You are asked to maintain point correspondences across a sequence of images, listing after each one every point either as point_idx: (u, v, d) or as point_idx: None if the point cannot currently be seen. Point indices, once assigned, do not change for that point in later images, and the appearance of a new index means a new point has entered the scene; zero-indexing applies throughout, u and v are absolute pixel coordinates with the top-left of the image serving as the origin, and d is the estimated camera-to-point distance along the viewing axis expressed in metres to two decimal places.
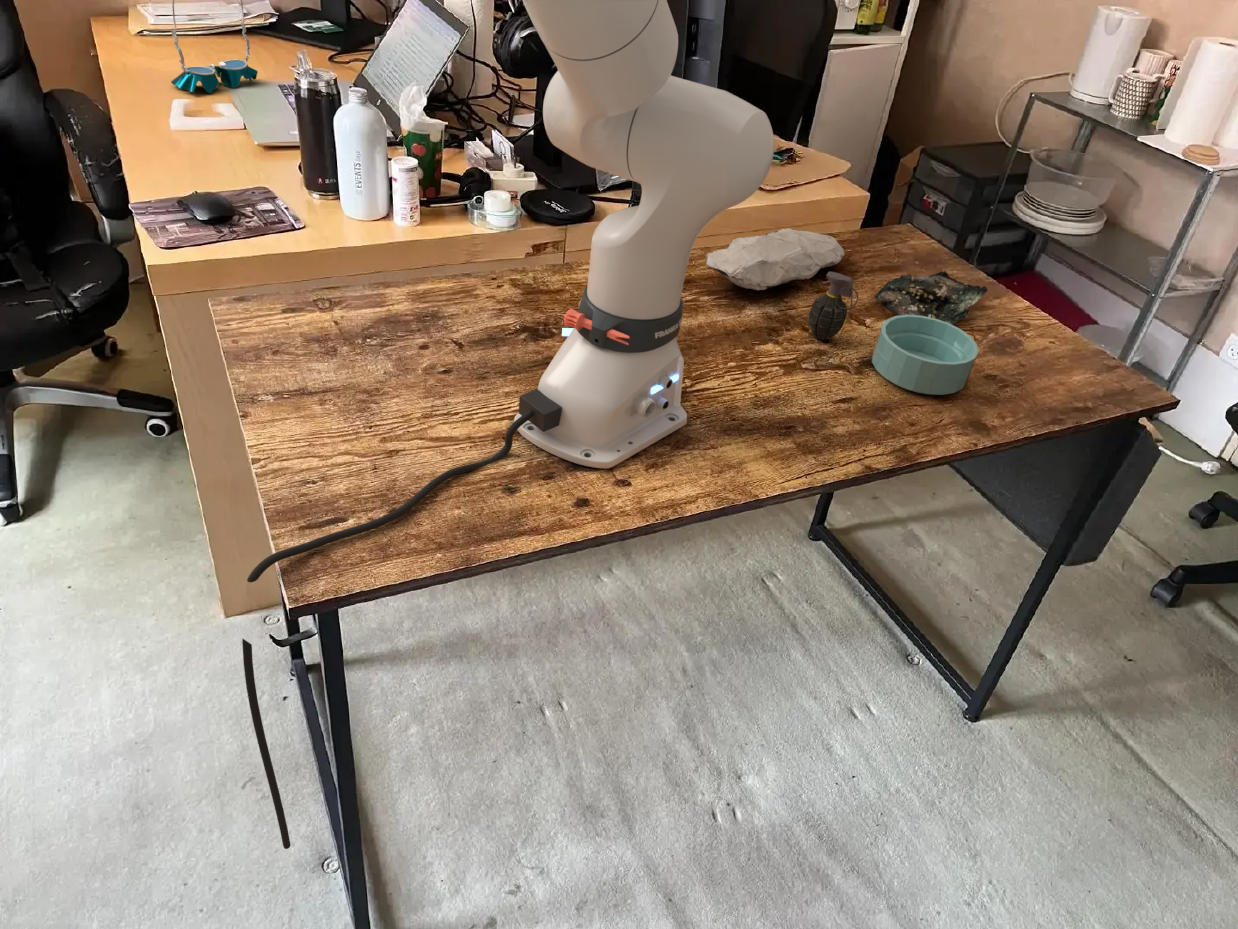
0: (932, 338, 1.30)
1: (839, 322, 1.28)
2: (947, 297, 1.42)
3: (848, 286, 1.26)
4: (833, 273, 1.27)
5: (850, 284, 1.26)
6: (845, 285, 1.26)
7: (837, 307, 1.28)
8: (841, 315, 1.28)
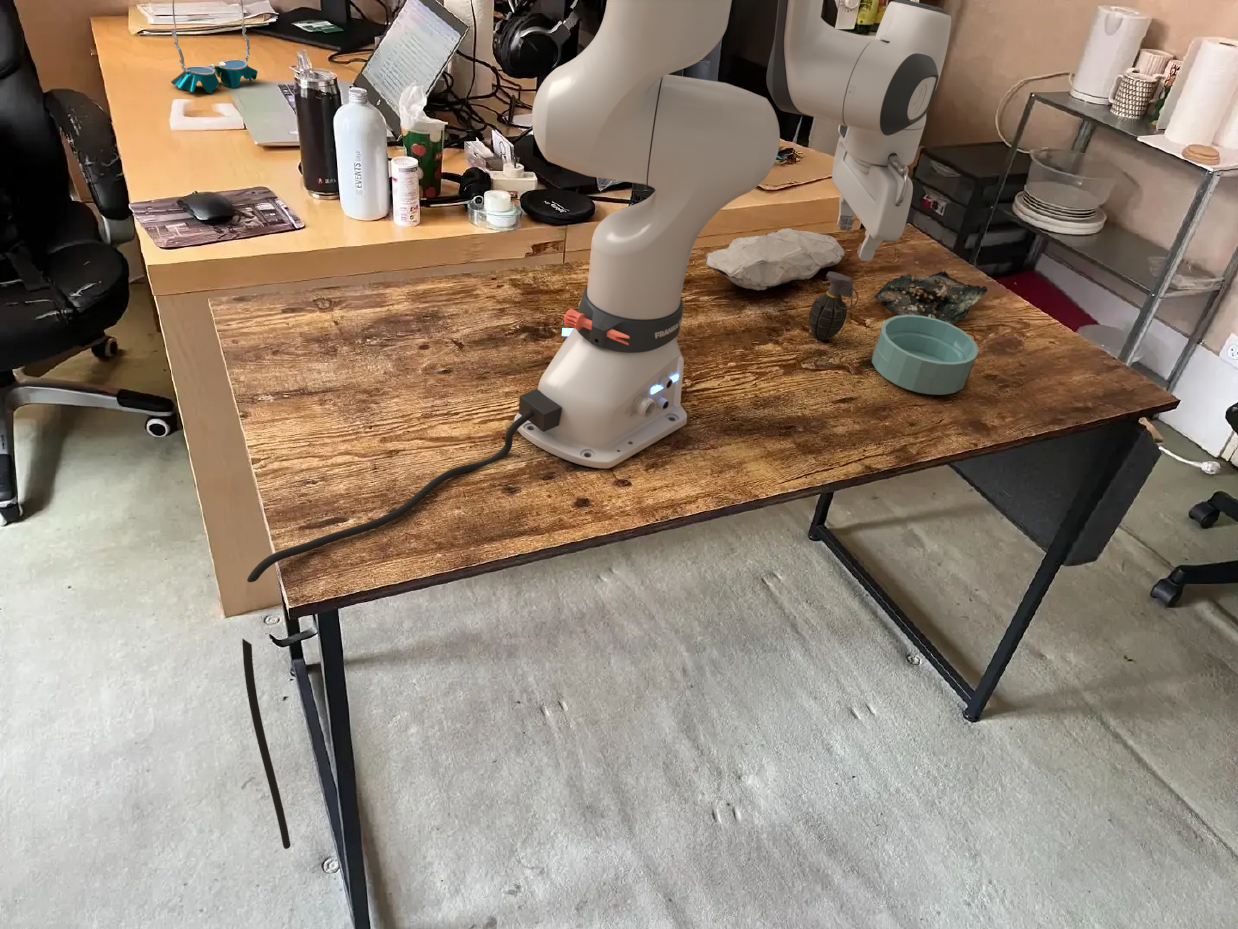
0: (932, 338, 1.30)
1: (839, 322, 1.28)
2: (947, 297, 1.42)
3: (848, 286, 1.26)
4: (833, 273, 1.27)
5: (850, 284, 1.26)
6: (845, 285, 1.26)
7: (837, 307, 1.28)
8: (841, 315, 1.28)
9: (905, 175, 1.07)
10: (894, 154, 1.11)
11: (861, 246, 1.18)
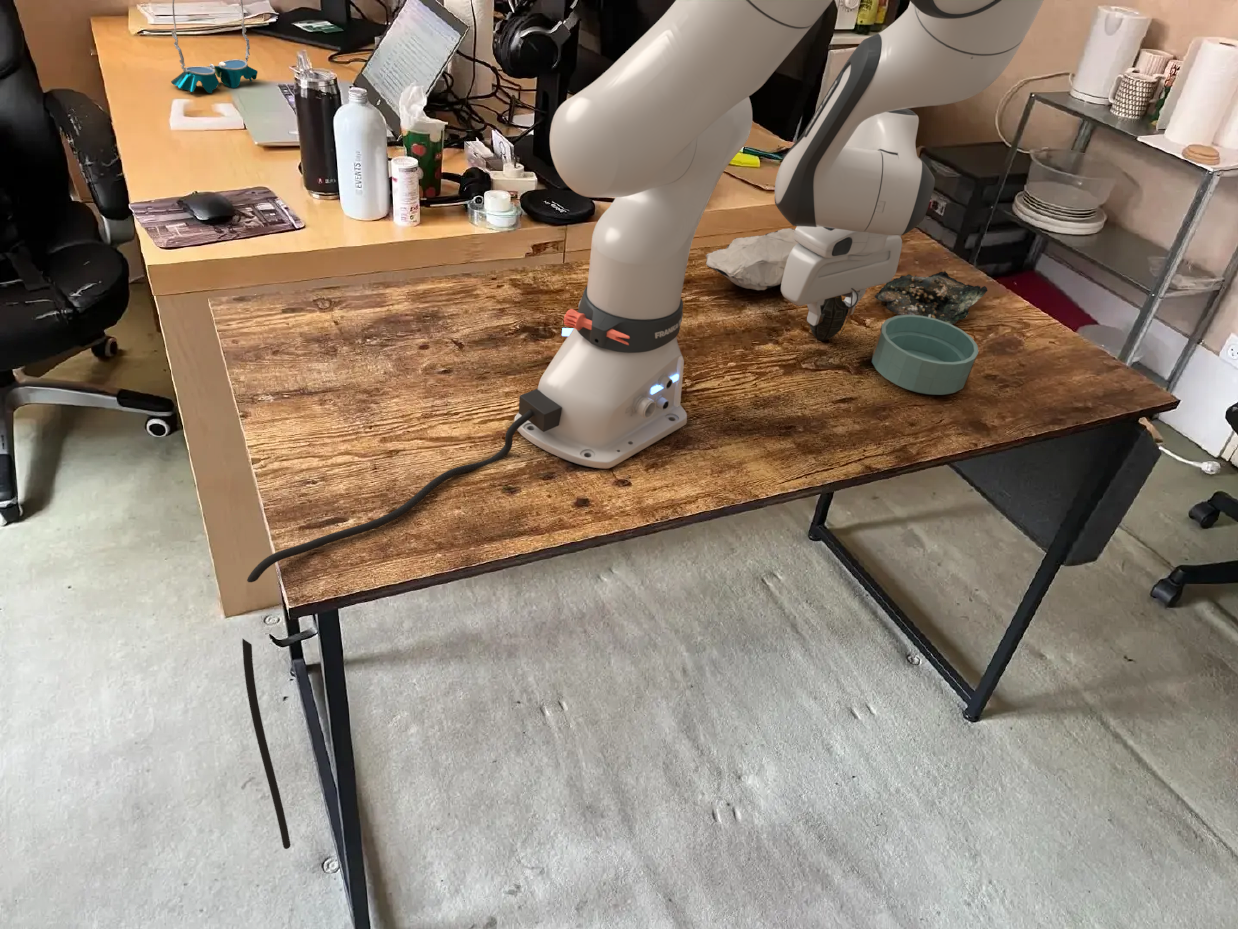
0: (932, 338, 1.30)
1: (839, 322, 1.28)
2: (947, 297, 1.42)
3: None
4: None
5: None
6: None
7: (837, 307, 1.28)
8: (841, 315, 1.28)
9: None
10: None
11: None
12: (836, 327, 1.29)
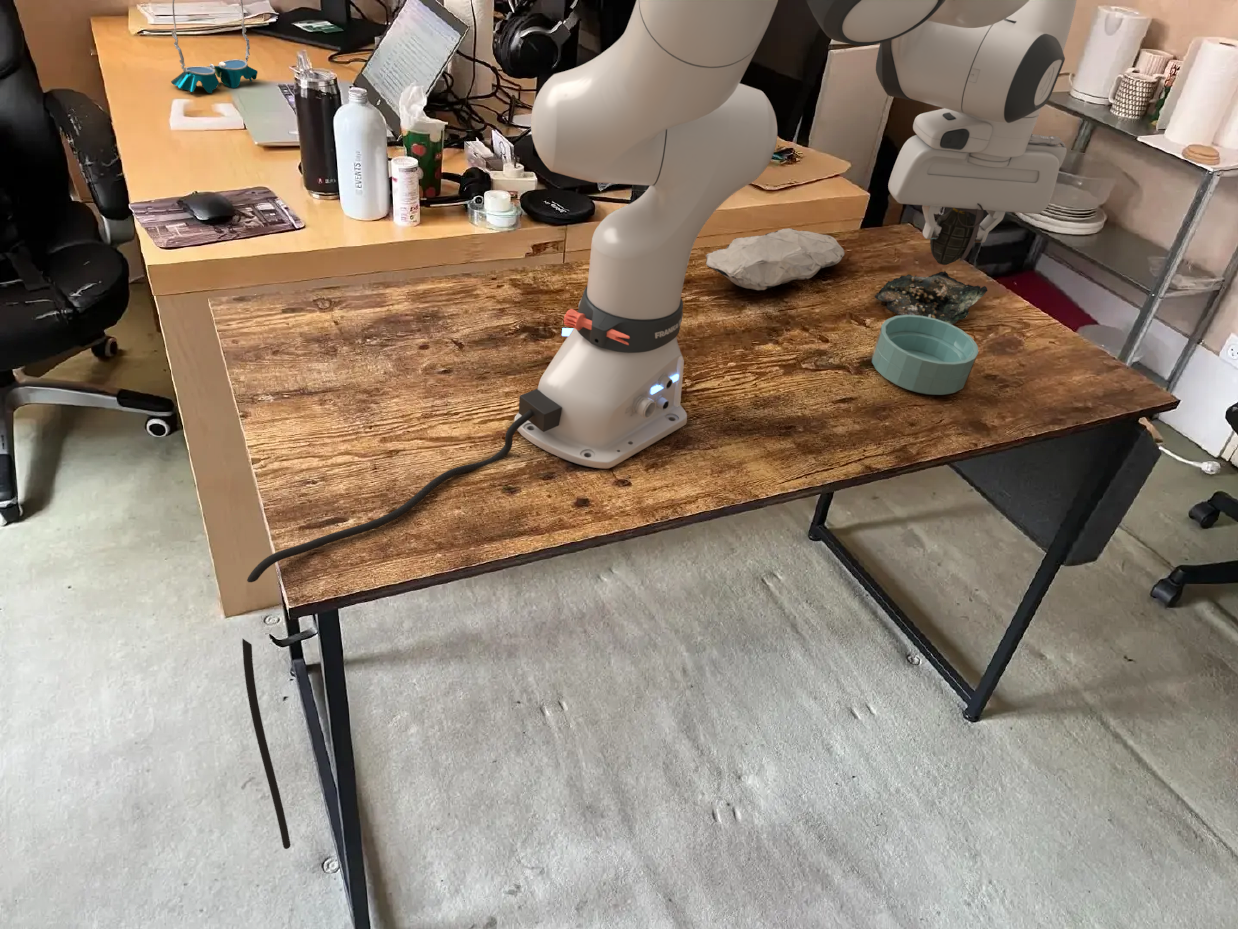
0: (932, 338, 1.30)
1: (958, 242, 1.14)
2: (947, 297, 1.42)
3: None
4: None
5: None
6: None
7: (959, 224, 1.14)
8: (961, 234, 1.14)
9: (1064, 143, 1.09)
10: None
11: (985, 231, 1.15)
12: (954, 247, 1.15)
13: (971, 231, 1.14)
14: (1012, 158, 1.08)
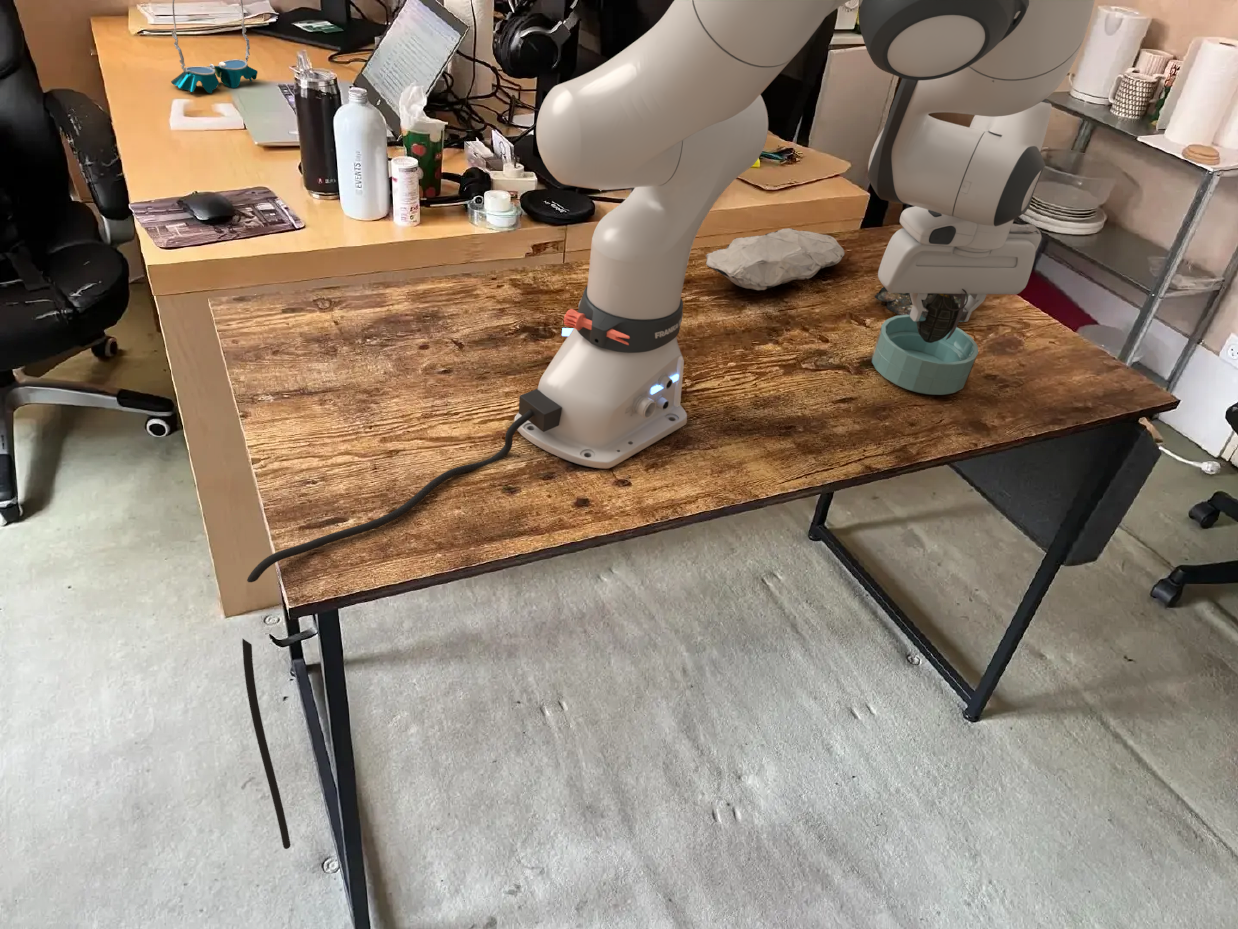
0: None
1: (944, 323, 1.20)
2: None
3: None
4: None
5: None
6: None
7: (944, 307, 1.20)
8: (947, 316, 1.20)
9: (1038, 230, 1.16)
10: None
11: (968, 311, 1.21)
12: (940, 328, 1.21)
13: (956, 313, 1.20)
14: None
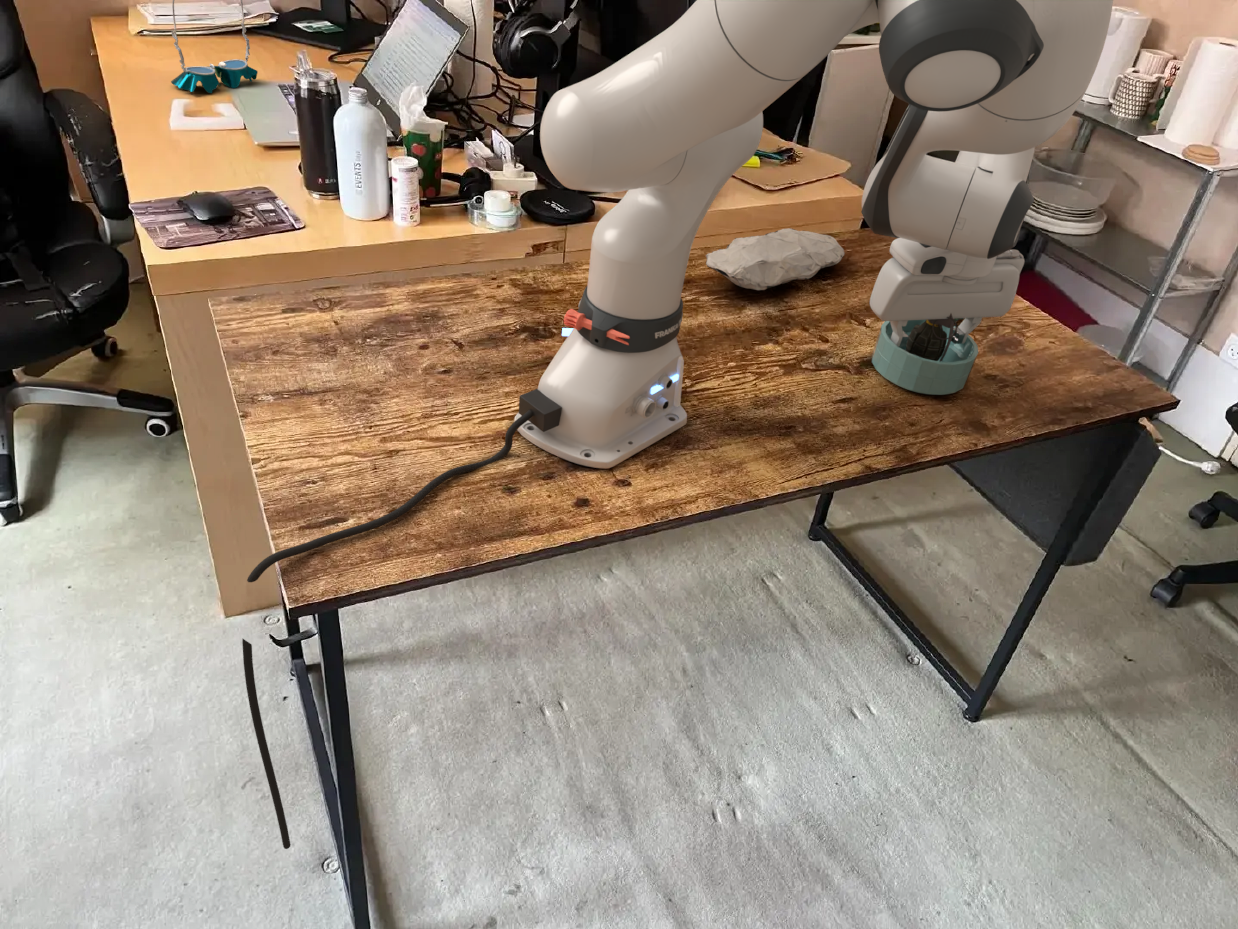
0: None
1: (934, 352, 1.23)
2: None
3: None
4: None
5: (950, 314, 1.20)
6: None
7: (934, 336, 1.22)
8: (937, 345, 1.23)
9: (1022, 255, 1.19)
10: None
11: (965, 334, 1.24)
12: (930, 357, 1.24)
13: (945, 341, 1.23)
14: None
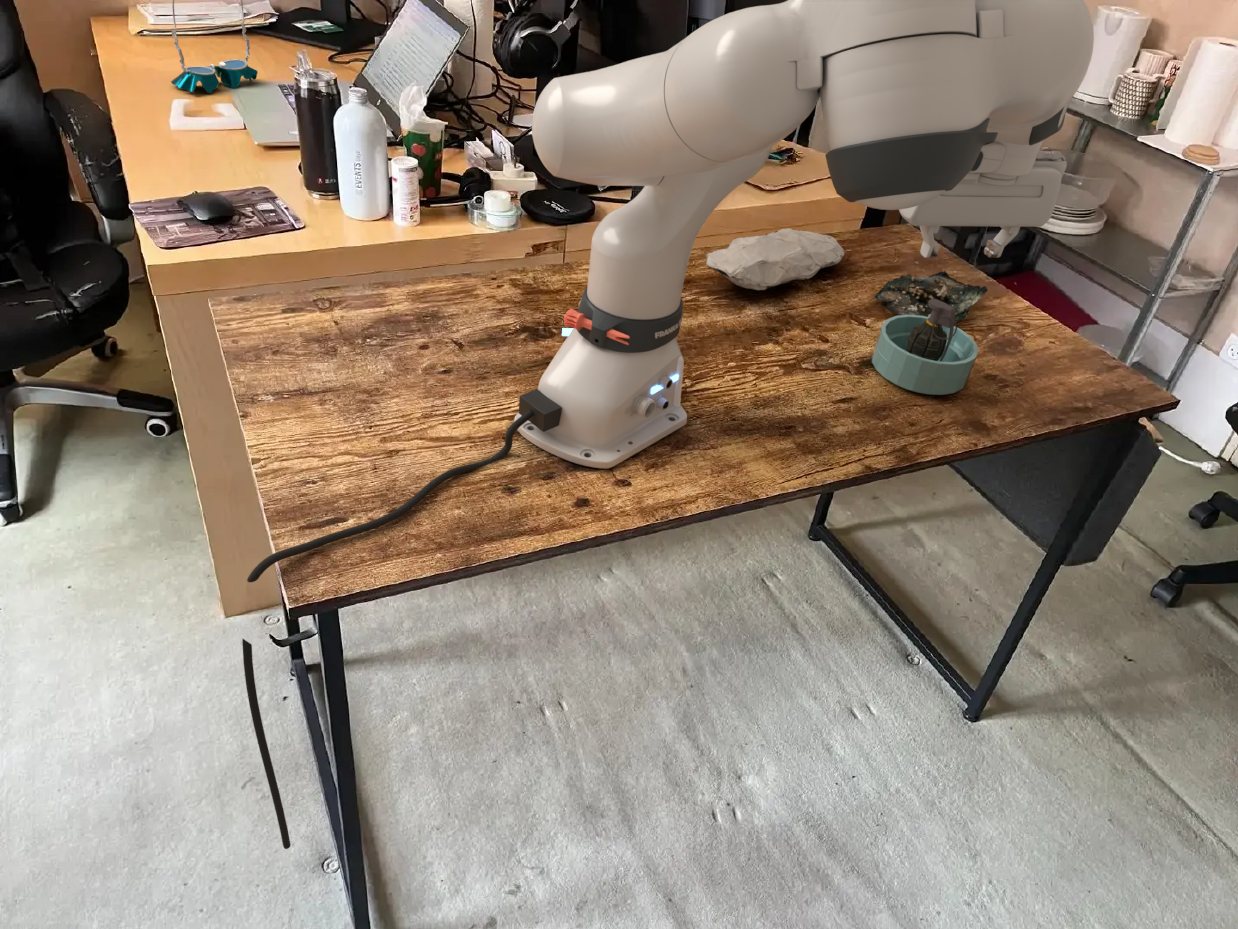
0: None
1: (934, 352, 1.23)
2: (947, 297, 1.42)
3: (948, 316, 1.21)
4: (936, 301, 1.22)
5: (950, 314, 1.20)
6: (945, 314, 1.21)
7: (934, 336, 1.22)
8: (937, 345, 1.23)
9: (1064, 157, 1.11)
10: None
11: (1001, 246, 1.16)
12: (930, 357, 1.24)
13: (945, 341, 1.23)
14: None
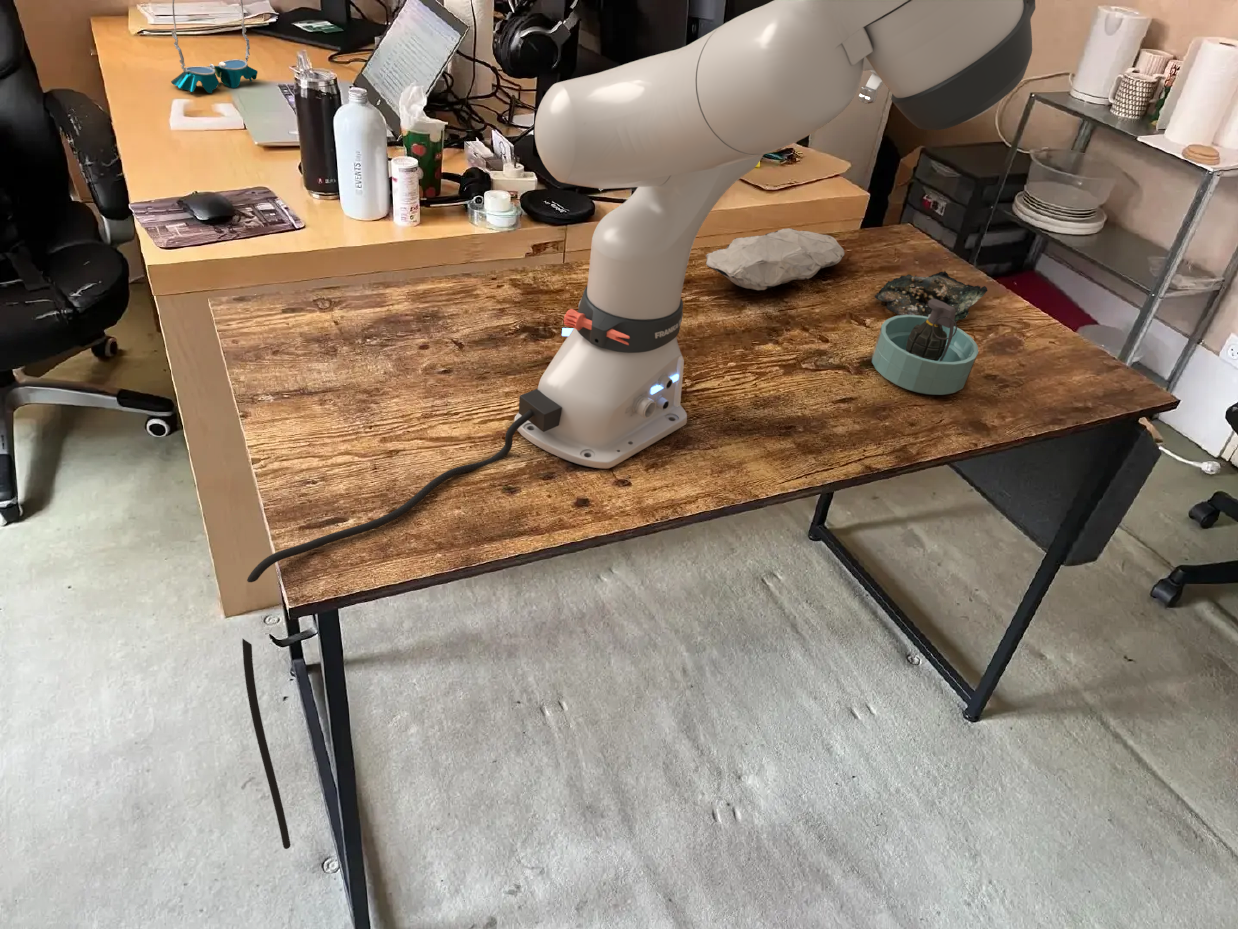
0: None
1: (934, 352, 1.23)
2: (947, 297, 1.42)
3: (948, 316, 1.21)
4: (936, 301, 1.22)
5: (950, 314, 1.20)
6: (945, 314, 1.21)
7: (934, 336, 1.22)
8: (937, 345, 1.23)
9: None
10: None
11: (875, 90, 1.19)
12: (930, 357, 1.24)
13: (945, 341, 1.23)
14: None
